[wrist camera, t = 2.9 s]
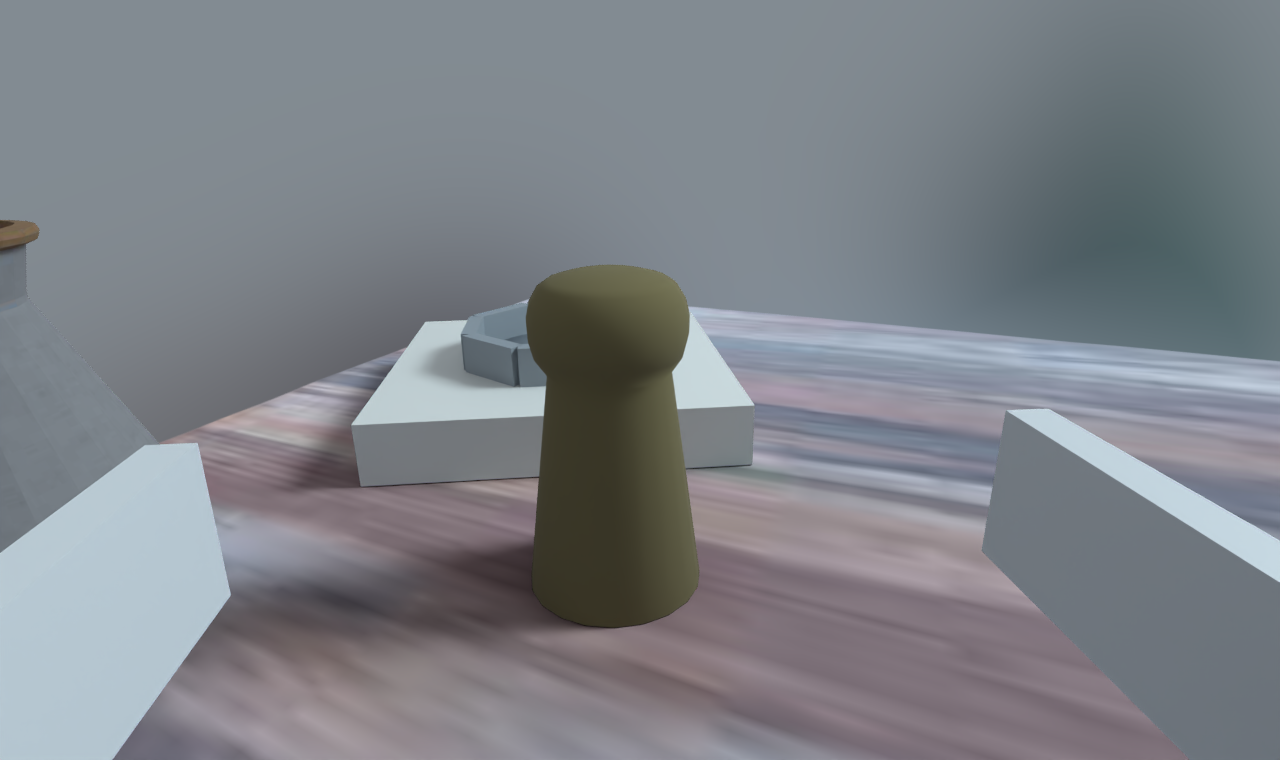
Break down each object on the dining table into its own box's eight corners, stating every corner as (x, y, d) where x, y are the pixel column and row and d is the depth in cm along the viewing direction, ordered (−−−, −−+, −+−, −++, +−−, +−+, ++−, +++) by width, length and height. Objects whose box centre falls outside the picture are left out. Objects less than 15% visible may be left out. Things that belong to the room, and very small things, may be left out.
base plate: (690, 353, 51) (690, 283, 49) (752, 464, 34) (756, 364, 32) (430, 364, 49) (422, 292, 48) (360, 486, 33) (344, 382, 31)
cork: (591, 654, 22) (576, 300, 18) (501, 565, 27) (474, 268, 23) (735, 581, 25) (745, 271, 22) (632, 513, 30) (627, 247, 26)
